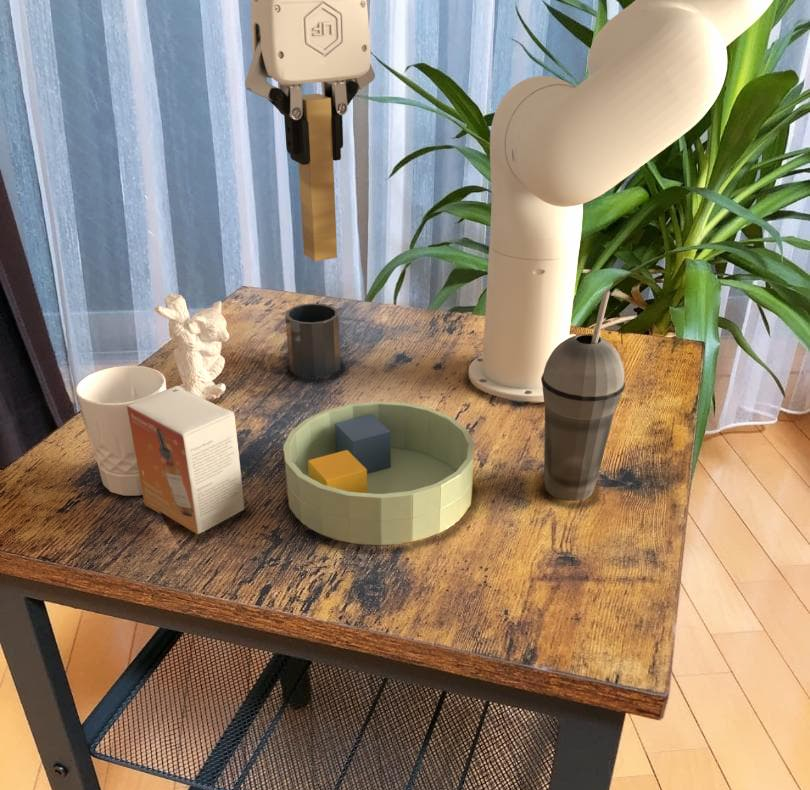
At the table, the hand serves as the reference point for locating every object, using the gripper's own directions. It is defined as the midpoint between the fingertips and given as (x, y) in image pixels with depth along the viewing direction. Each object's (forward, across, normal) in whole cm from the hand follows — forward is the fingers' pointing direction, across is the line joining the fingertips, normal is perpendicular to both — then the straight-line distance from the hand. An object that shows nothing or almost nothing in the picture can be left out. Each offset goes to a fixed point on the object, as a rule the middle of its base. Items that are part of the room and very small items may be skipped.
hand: (315, 157), depth 88 cm
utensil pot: (+25, +2, +6) cm, 26 cm away
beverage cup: (+25, +10, -30) cm, 41 cm away
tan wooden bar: (+10, 0, 0) cm, 10 cm away
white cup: (+25, -24, -7) cm, 36 cm away
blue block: (+25, -4, -16) cm, 30 cm away
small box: (+25, -21, -15) cm, 36 cm away
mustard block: (+25, -10, -21) cm, 34 cm away
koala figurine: (+25, -12, +7) cm, 29 cm away
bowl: (+25, -5, -22) cm, 34 cm away
